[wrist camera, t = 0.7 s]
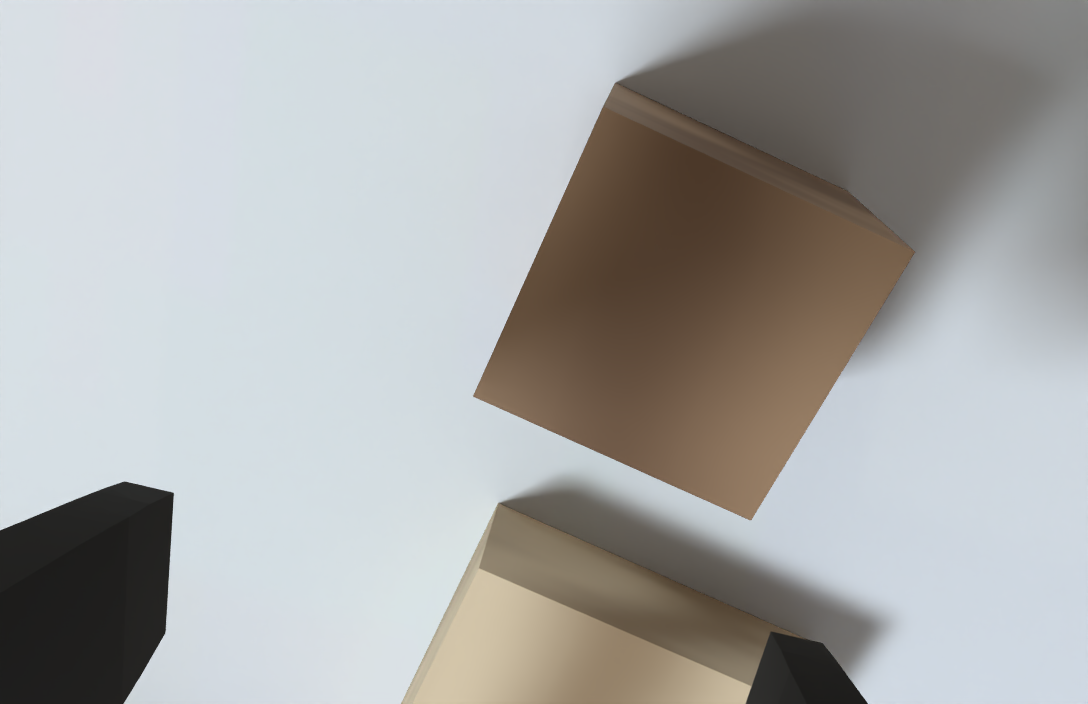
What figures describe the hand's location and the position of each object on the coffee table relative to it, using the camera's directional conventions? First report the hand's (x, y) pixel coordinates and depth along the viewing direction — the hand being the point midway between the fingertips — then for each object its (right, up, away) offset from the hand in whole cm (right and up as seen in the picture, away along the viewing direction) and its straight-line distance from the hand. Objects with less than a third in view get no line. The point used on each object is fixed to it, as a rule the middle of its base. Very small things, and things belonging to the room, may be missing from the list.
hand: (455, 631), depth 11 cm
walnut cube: (+4, +5, +8) cm, 10 cm away
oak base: (+2, -5, +12) cm, 13 cm away
